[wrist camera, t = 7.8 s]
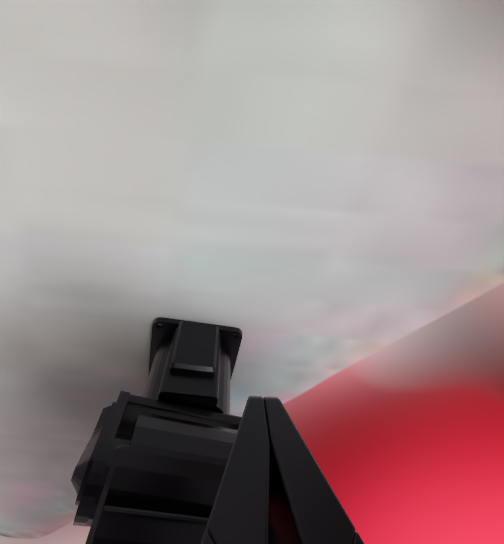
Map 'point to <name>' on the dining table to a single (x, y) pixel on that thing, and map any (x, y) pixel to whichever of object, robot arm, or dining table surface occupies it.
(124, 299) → the dining table surface
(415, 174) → the dining table surface
